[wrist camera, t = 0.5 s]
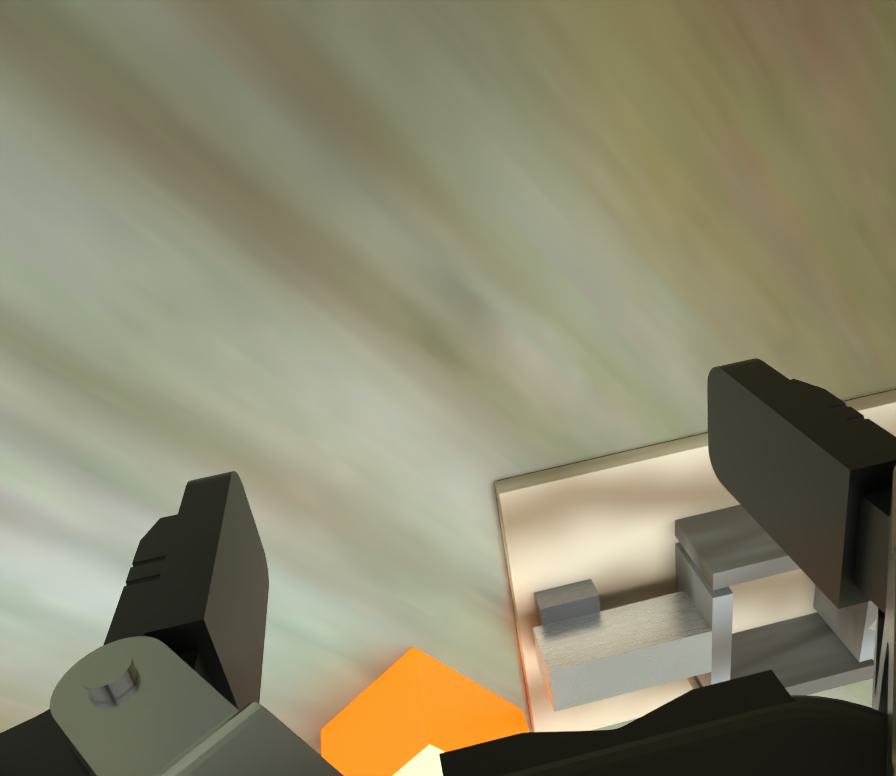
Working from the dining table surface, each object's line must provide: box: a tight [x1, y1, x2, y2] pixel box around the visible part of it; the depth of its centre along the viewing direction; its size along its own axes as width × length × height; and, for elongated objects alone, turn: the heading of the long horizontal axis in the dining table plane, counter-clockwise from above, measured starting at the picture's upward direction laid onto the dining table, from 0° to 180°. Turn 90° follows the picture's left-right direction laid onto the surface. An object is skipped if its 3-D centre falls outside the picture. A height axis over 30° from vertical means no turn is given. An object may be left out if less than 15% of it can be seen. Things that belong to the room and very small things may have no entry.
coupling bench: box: [494, 390, 896, 732], centre depth 39 cm, size 18×26×5 cm
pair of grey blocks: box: [533, 579, 876, 712], centre depth 40 cm, size 10×26×4 cm, turn 99°
